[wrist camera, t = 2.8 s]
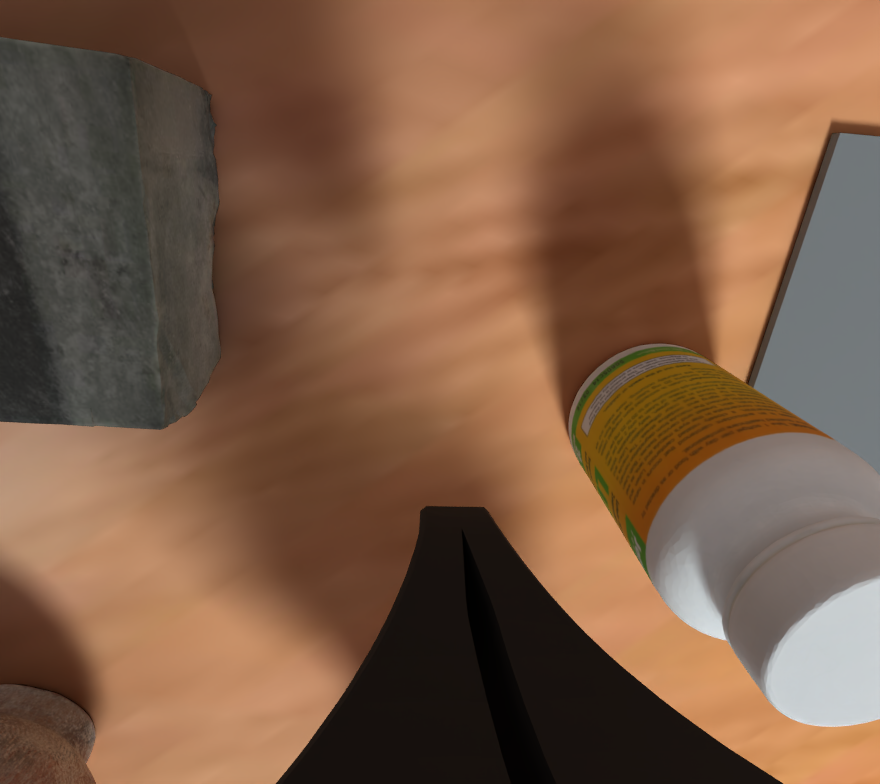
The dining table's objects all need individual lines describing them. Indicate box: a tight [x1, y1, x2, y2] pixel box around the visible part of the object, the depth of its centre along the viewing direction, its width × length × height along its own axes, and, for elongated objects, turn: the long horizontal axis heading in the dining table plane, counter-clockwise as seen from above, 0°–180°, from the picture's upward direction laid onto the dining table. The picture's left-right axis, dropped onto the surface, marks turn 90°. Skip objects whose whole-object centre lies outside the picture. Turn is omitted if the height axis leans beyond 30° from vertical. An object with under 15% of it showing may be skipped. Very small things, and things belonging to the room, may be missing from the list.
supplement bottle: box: [569, 344, 880, 727], centre depth 13 cm, size 5×5×10 cm
